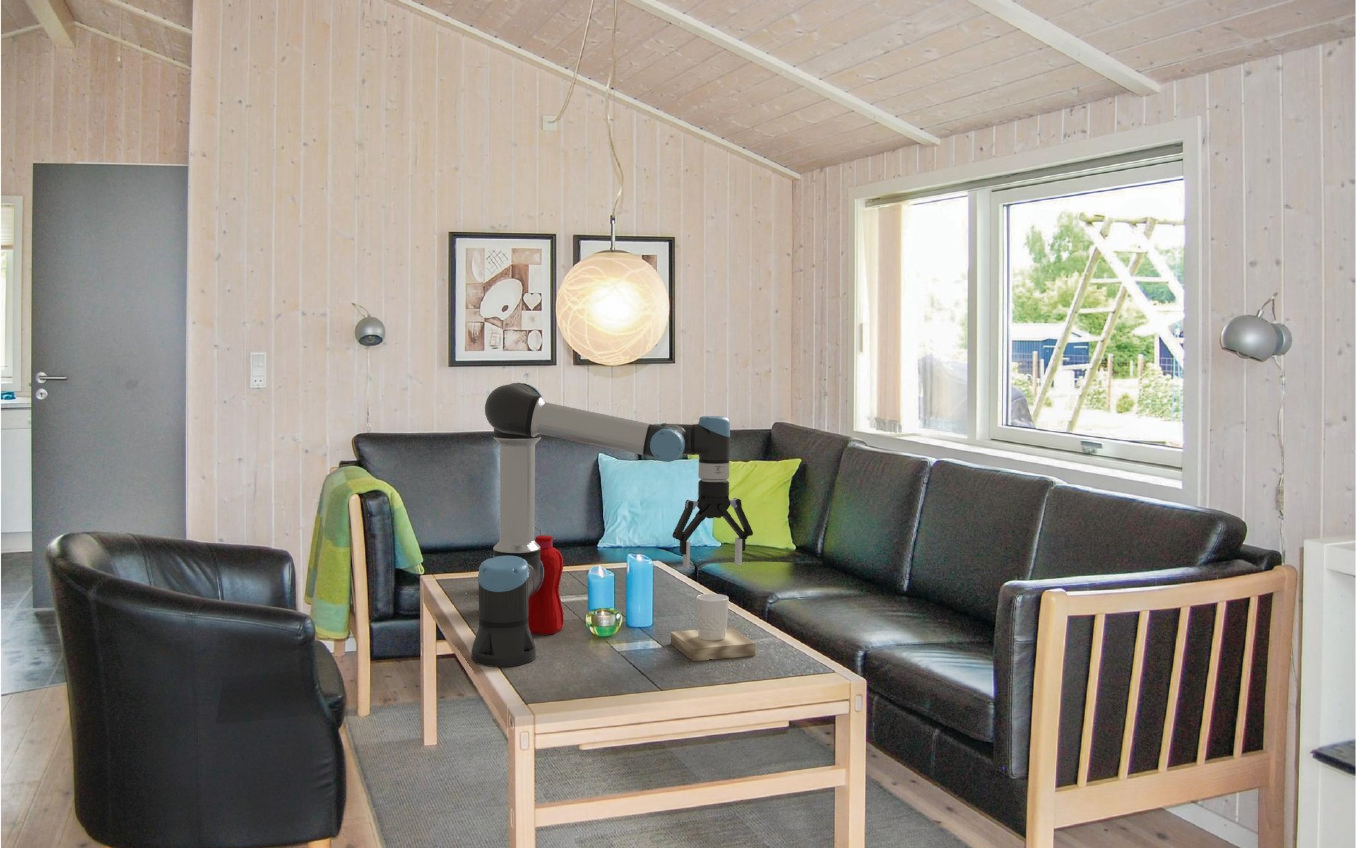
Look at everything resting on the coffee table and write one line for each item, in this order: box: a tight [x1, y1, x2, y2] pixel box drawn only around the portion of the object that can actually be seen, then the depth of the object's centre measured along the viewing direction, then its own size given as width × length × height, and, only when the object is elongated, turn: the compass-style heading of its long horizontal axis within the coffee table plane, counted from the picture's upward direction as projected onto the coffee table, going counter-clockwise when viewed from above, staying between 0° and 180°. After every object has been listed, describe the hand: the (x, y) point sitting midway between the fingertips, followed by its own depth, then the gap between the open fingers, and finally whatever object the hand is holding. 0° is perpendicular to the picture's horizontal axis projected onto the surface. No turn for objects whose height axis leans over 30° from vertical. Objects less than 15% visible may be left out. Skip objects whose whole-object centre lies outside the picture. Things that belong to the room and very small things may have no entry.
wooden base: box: [670, 626, 756, 662], centre depth 273 cm, size 16×16×3 cm
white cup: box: [696, 593, 730, 641], centre depth 272 cm, size 8×8×10 cm
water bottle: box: [528, 534, 565, 636], centre depth 289 cm, size 9×11×25 cm
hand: (712, 566), depth 272 cm, fingers open, 13 cm apart
